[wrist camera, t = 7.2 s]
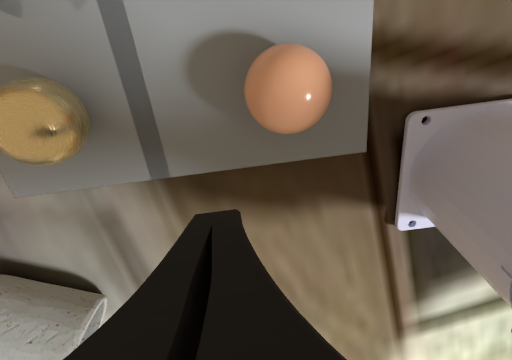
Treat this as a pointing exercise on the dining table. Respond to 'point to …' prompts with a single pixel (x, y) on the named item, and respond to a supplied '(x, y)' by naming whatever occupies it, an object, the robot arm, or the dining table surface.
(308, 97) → the terracotta ball
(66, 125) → the brass ball
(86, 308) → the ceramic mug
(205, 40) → the bearing plate
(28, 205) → the dining table surface
